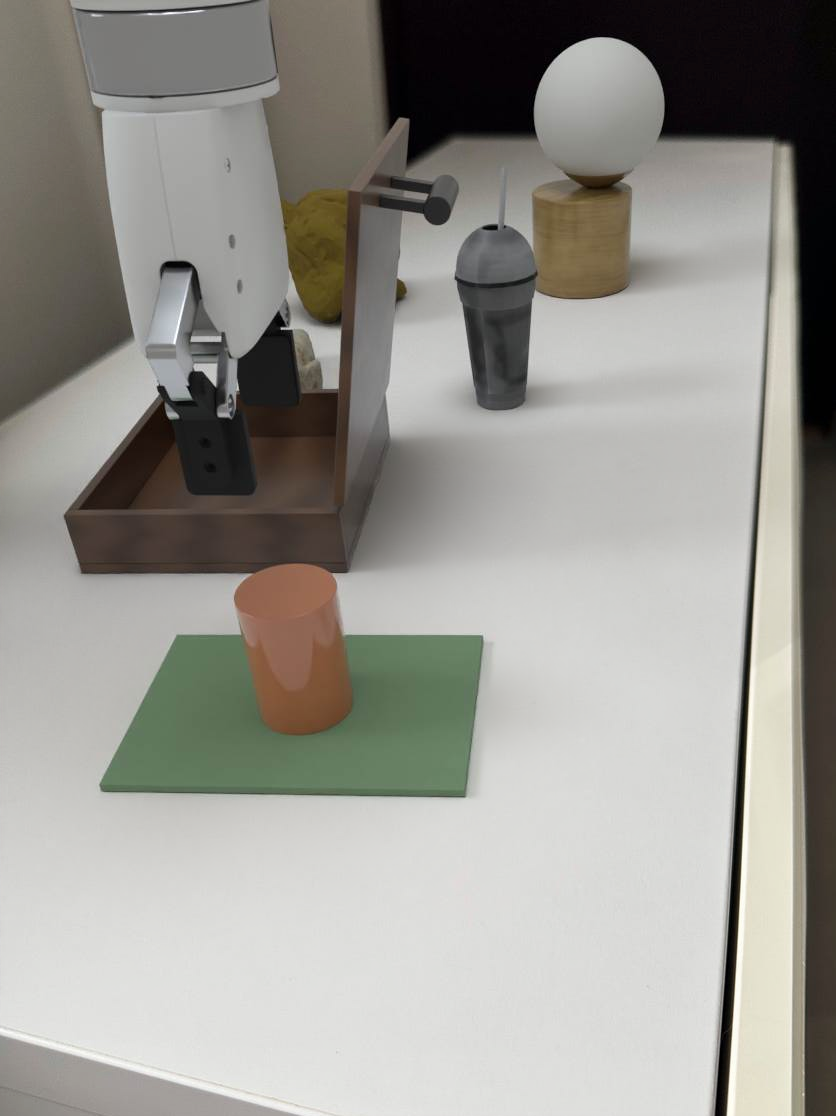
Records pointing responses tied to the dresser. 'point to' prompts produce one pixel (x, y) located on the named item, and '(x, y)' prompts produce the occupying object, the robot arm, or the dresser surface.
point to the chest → (228, 498)
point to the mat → (313, 759)
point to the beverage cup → (497, 308)
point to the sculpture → (307, 361)
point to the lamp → (591, 164)
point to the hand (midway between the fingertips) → (249, 445)
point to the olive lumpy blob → (319, 250)
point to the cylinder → (295, 647)
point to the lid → (375, 290)
